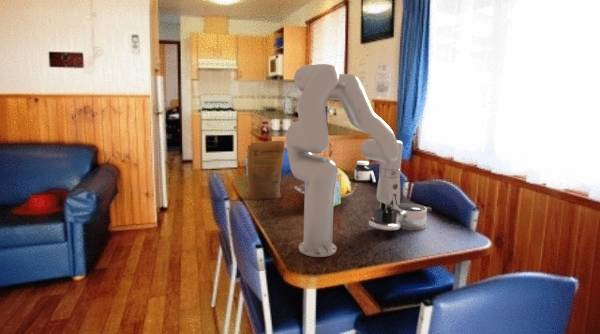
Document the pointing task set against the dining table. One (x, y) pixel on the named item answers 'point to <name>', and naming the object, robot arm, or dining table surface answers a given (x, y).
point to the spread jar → (363, 172)
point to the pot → (412, 216)
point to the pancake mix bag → (264, 169)
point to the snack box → (336, 192)
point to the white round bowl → (378, 220)
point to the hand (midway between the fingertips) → (384, 221)
